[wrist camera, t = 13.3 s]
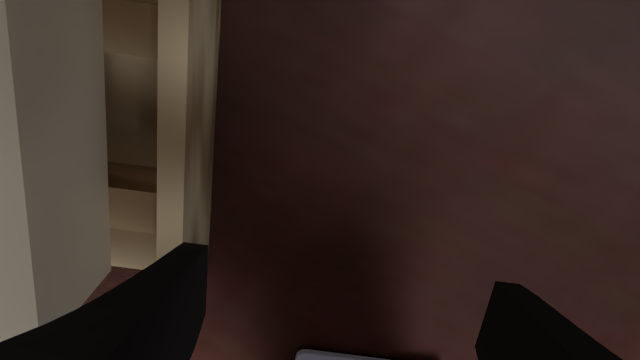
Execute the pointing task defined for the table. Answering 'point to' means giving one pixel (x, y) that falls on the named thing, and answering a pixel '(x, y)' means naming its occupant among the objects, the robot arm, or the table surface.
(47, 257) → the grayish beige rectangular block
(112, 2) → the wooden compartment tray
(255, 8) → the table surface
